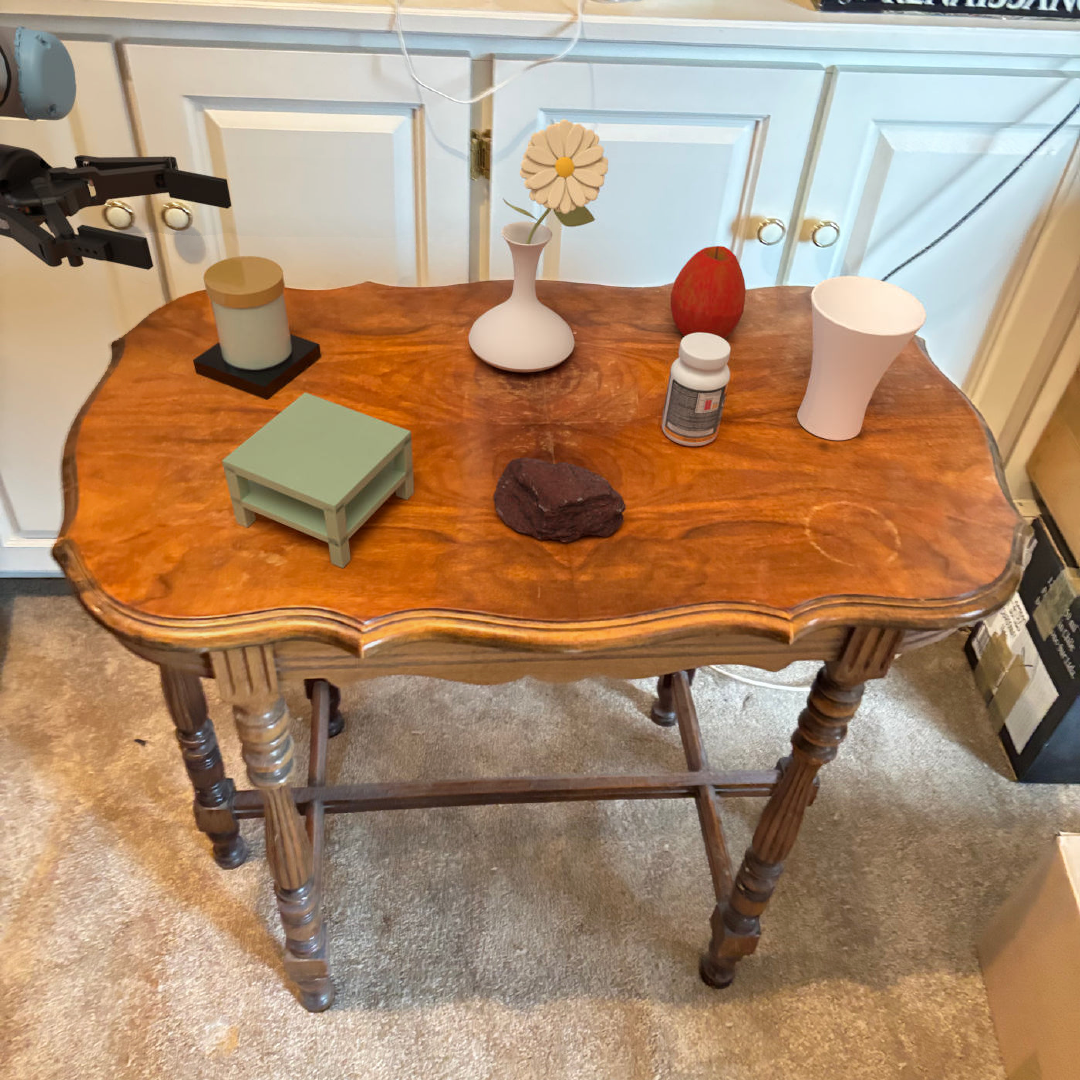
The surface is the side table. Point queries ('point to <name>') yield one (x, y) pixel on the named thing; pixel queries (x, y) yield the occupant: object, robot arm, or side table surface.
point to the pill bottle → (697, 390)
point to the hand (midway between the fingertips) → (190, 222)
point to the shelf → (320, 471)
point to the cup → (853, 349)
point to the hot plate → (261, 379)
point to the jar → (249, 311)
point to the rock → (557, 500)
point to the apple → (709, 293)
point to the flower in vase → (562, 185)
